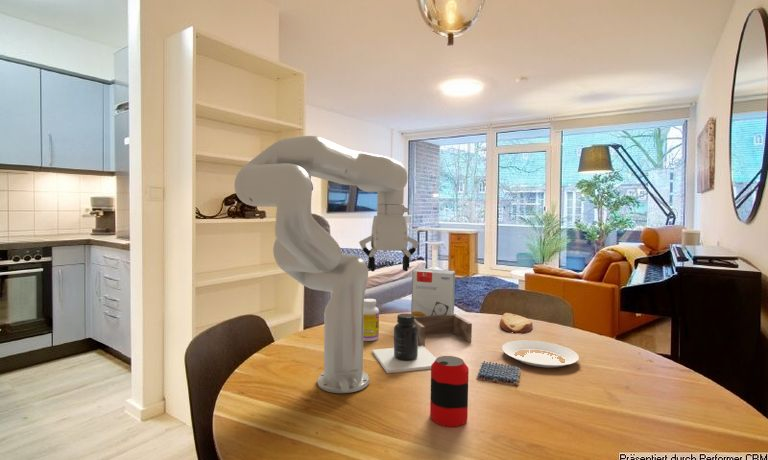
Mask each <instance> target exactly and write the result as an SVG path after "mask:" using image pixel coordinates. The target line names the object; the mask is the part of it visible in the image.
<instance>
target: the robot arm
mask: <svg viewBox="0 0 768 460" xmlns="http://www.w3.org/2000/svg"><path fill="white" fill-rule="evenodd" d="M311 177H314V178H318V179H322V180H325V181H330V182H332V183H335V184H338V185H339V184H340V185H345V186H356V187H357V188H358V189H359V190H361V191H362V192H366V193H377V195H376V197H377V203H376V205H377V207H376V215H374V216H373V218H372V219H373V220H372V226H371V235H369V236H367V237H366V238H364V239H361V240H360V241H359V242H358V243H359V245H360V246H359V247H360V248H361V249H362V251H363V253H365V254H366V256H367V257H368V261H367V262H368V265H367V263H366V262H365V261H364V260H363V259H362V258H361V257H359V256H357V255H355V254H354V255H353V254H350V253H349V254H347V253H342V250H341V249H342V248H341V247H340V245H339V243H338V241H336V239H335V238H334V237H333V236H332V235H331V234H330V233H329V232H328V231H326V229H324V227H322V226H321V224H319V223H318V221H317V220H316V219H315V218H314V217H313V214H312V195H313V184H312V180H311ZM408 178H409V177H408V171H407V169H406V167H405V166H404V165H403V164H402V163H401V162H400V161H397V160H396V159H393V158H391V157H388V156H383V155H380V154H373V153H368V152H364V151H360V150H354V149H349V148H348V147H345V146H342V145H340V144H338V143H335V142H333V141H331V140H328V139H325V138H324V137H320V136H317V135H305V136H294V137H286V138H282V139H279V140H277V141H276V142H274V143H273V144H271V145H269V146H268V147H266V148H265V149H264V150H262V151H261V153H259V154H258V155H257V156H255V157H254V158H252V159H251V160H250V161H249V162H248V163H246V164H245V165H244V166H242V167H241V169H240V170H239V171H238V172H237V174H236V177H235V179H234V192H235V194H236V196H237V198H238V199H239V200H240V201H241V202H242V203H243V204H245V205H248V206H251V207H268V208H269V207H270V208H271V207H272V208H273V207H275V208H276V214H275V215H276V216H275V225H274V235H275V238H276V239H275V241H274V244H273V249H272V252H273V259H274V260H275V262H276V264H277V266H278V267H279V269H280V270H283V272H285V273H286V274H287V275H289V276H290V277H291V278H293V279H294V280H295V281H296V282H298V283H300V284H301V285H302V286H304V287H306V288H308V289H310V290H313V291H314V290H315V291H320V292H322V291H323V292H327V293H331V294H332V295H331V297H330V299H329V300H328V302H327V303H326V306H325V307H324V308H325V309H324V315H323V322H324V324H323V325H324V328H323V329H324V331H323V335H324V337H323V338H324V339H323V340H324V342H323V344H324V345H323V362H324V363H323V372H322V373H321V374H320V375H319V376H318V377H317V386H318V387H319V388H320V389H321V390H323V391H326V392H328V393H333V394H349V393H350V394H351V393H354V392H358V391H361V390H363V389H365V388H366V387H367V386H368V385H369V384H370V376H369V375H368V373H367V372H365V371H364V341H363V314H364V299H365V297H366V296H365V295H366V289H367V284H368V280H369V270H370V271H371V272H375V270H376V269H375V268H376V267H375V266H376V261H375V260H376V257H375V254H376V253H377V252H379V251H380V252H381V251H383V252H391V251H393V252H396V251H397V252H398V251H399V252H400V251H401V252H402V254H403V256H402V270H403V271H404V272H408V270H409V268H410V258H411V257H412V255H413V254H414V253H415V252H416V250H417V248H418V247H419V244H420V243H419V241H418V240H416V239H414V238H413V237H410V236H409V235H408V225H407V224H408V223H407V219H406V218H407V217H406V216H405V213H408V212H409V207H406V206H405V205H404V195H405V194H404V192H405V189H404V188H405V187H406V185H407V183H408ZM367 243H370V250H369V249H368V248H367ZM408 243H410V244H412V245H411V247H410V248H409V249H408Z"/></svg>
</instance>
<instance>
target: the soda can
mask: <svg viewBox="0 0 768 460" xmlns="http://www.w3.org/2000/svg"><path fill="white" fill-rule="evenodd" d="M436 358H437V359H436V360H435V361H434V363H433V364H432V365H431V369H430V398H429V399H430V403H429V404H430V405H429V407H430V410H429V417H430V419H432V421H433V422H434V423H435V424H437V425H439V426H442V427H448V428H457V427H460V426H463V425H464V424H465V423H466V422H467V421H468V411H469V410H468V409H469V406H468V404H469V374H470V373H469V367H468V366H467V364H466V362H465V361H464V359H462V358H460V357H458V356H453V355H441V356H438V357H436Z"/></svg>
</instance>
